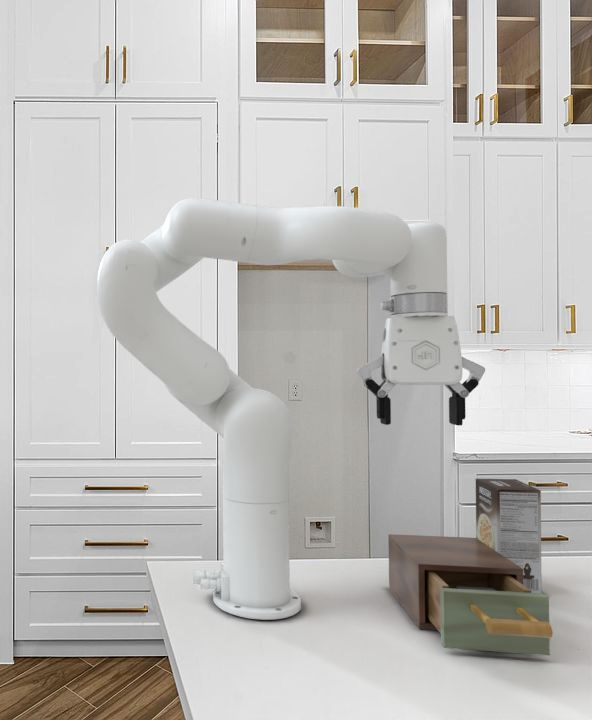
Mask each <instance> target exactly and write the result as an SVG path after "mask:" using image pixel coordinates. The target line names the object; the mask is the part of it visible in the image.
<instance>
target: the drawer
mask: <svg viewBox="0 0 592 720" xmlns="http://www.w3.org/2000/svg"><path fill="white" fill-rule="evenodd" d="M456 586H462V587H481V588H493V589H494V590H496V591H489V590H470V589H456ZM425 615H426V616H427V618H428V619H429V620H430V621H431V622H432V624H433V625H434V626H435V627H436V628H437V630H436V631H438V632H439V634H440V644H441V645H442V646H443V648H444V649H445V648H446V649H453V650H470V651H481V652H482V651H485V652H497V653H498V652H499V653H513V654H526V655H537V656H538V655H540V656H550V655H551V645H550V644H551V641H550V639H552V637H553V636H554V635H553V634H554V633H553V628H552V625H551V623H550V597H549V596H548V595H547V594H545V593H531V590H530V589H528V588H527V587H525V586H524V585H523V584H521V583H520V582H518V581H517V580H516V579H514V578H513V577H511V576H510V575H509V574H494V573H474V572H454V571H434V570H425Z"/></svg>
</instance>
